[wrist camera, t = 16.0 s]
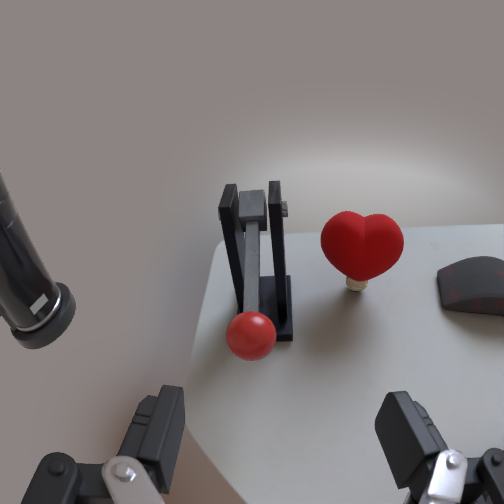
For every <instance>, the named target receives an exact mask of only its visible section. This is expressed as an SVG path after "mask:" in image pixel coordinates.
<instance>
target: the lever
mask: <svg viewBox="0 0 504 504" xmlns="http://www.w3.org/2000/svg"><path fill="white" fill-rule="evenodd" d="M238 218H239V221H240V225H241V229H242V232H246V234H245V266H244V300H243V313H241V314H239V315H237V316H236V317H234V318H233V319H232V320H231V322H230V323H229V325H228V327H227V331H226V341H227V345H228V347H229V348H230V350H231V351H232V353H233V354H235V355H236V356H237V357H239V358H241V359H244V360H249V361H253V360H258V359H261V358H263V357H265V356H266V355H268V354H269V353H270V352H271V350H272V349H273V347H274V345H275V342H276V330H275V327H274V325H273V323H272V321H271V320H270V319H269V318H268V317H267V316H265V315H264V314H262V313H260V231H267V205H266V199H265V192H264V190H252V191H240V192H239V209H238Z"/></svg>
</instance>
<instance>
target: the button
mask: <svg viewBox="0 0 504 504" xmlns="http://www.w3.org/2000/svg"><path fill="white" fill-rule="evenodd" d="M482 495H483V498H484V500H485V502H486V504H493V503H492V501H491V498H490V496H489V494H488V492H487V490H486V491H485V492H484V493H483V494H482Z"/></svg>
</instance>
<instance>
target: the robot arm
mask: <svg viewBox="0 0 504 504" xmlns="http://www.w3.org/2000/svg"><path fill="white" fill-rule="evenodd" d="M62 302H63V295H62V292H61V291H60V289H59V287H58V286H57V285H56V283H55V282H54V280H53V279H52V277H51V276H50V274H49V272H48V270H47V268H46V267H45V265H44V263H43V261H42V259H41V258H40V256H39V254H38V252H37V250H36V249H35V247H34V245H33V243H32V241H31V239H30V237H29V235H28V233H27V231H26V229H25V227H24V225H23V223H22V220H21V218H20V216H19V214H18V212H17V210H16V207H15V205H14V203H13V200H12V198H11V196H10V194H9V191H8V188H7V186H6V183H5V181H4V178H3V175H2V172H1V169H0V316H2V317H3V318H4V320H5V321H6V322H7V323H8V325H9V326H10V327H11V328H12V330H13V331H14V332H15V333H16V332H19V331H20V332H22V333H25V334H29V333H34V332H36V331H39V330H40V329H42V328H44V327H45V326H46V325H48V324H49V323H50V322H51V321H52V320H53V319H54V317H55V316H56V315H57V313H58V312H59V310H60V308H61V305H62ZM184 424H185V406H184V392H183V388H182V387H176V386H169V385H163V386H162V388H161V390H160V393H159V395H158V397H155V396H150V395H148V396H147V397H146V398H145V399H144V400H142V401H141V402H140V403H139V405H138V408H137V410H136V412H135V415H134V417H133V419H132V423H130V426H129V428H128V431H127V433H126V435H125V438H124V440H123V443H122V445H121V447H120V450H119V452H118V454H117V455H116V457H113V458H111V459H109V460H107V461H106V462H105V463H103V464H82V463H76V462H75V461H74V459H73V458H72V457H70V456H69V455H67V454H65V453H60V452H54V453H50V454H48V455H46V456H45V457H44V458H43V459H42V460H41V462H40V463H39V465H38V468H37V470H36V472H35V474H34V476H33V478H32V480H31V482H30V484H29V487H28V488H27V491H26V493H25V495H24V497H23V499H22V502H21V504H166V503H165V502H164V500H163V499H162V497H161V496H160V493H163V494H169V490H170V486H171V481H172V477H173V473H174V468H175V464H176V460H177V455H178V451H179V447H180V442H181V438H182V434H183V430H184ZM375 431H376V434H377V436H378V439H379V441H380V443H381V446H382V448H383V451H384V453H385V456H386V459H387V461H388V464H389V466H390V469H391V471H392V474H393V477H394V479H395V482H396V484H397V487H398V489H402V488H406V487H409V489H410V491H409V492H408V494H407V496H406V498H405V501H404V503H403V504H486V502H485V500H484V498H483V495H482V494H483V493H484V492H485V491H486V490H487V492H488V494H489V496H490V498H491V501H492V503H493V504H504V451H502V450H501V449H498V448H491V449H488V450H487V451H486V452H485V453H484V455H483V456H482V457H480V458H466V457H465V455H464V454H463V453H461V452H460V451H458V450H454V449H449V448H448V447H447V445H446V443H445V442H444V440H443V438H442V437H441V435H440V433H439V431H438V430H437V428H436V426H435V425H433V421H432V420H431V418H429V415H428V413H427V412H426V410H425V408H424V407H422V406H421V405H420V404H419V403H418V402H416V401H412V399H411V397H410V396H409V394H408V393H407V392H406V391H398V392H389V393H388V394H387V395H386V397H385V399H384V401H383V403H382V406H381V408H380V410H379V412H378V414H377V417H376V419H375Z"/></svg>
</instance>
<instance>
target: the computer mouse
mask: <svg viewBox="0 0 504 504" xmlns="http://www.w3.org/2000/svg"><path fill="white" fill-rule="evenodd" d="M437 276H438V281H439V286H440V293H441V300H442V306H443V308H444V309H449V310H456V311H465V312H476V313H487V314H498V315H504V261H503V260H501V259H498V258H495V257H488V256H480V257H472V258H467V259H464V260H461V261H458V262H456V263H454V264H451V265H449V266H447V267H444V268H442V269H440V270H438V272H437Z"/></svg>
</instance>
